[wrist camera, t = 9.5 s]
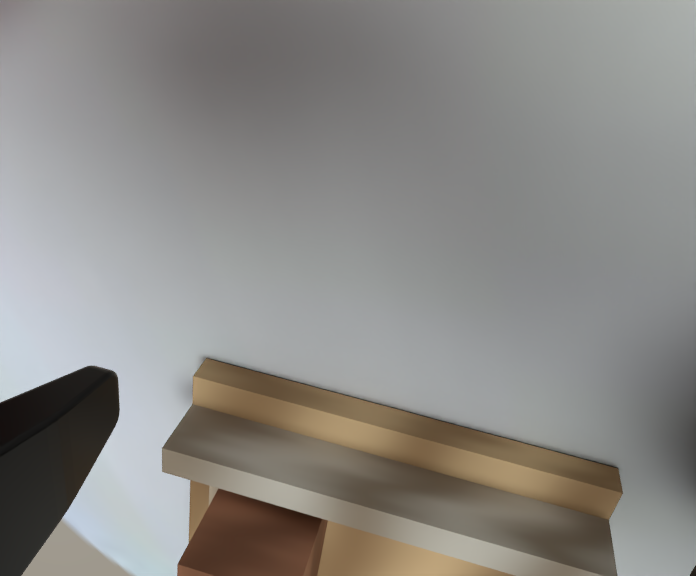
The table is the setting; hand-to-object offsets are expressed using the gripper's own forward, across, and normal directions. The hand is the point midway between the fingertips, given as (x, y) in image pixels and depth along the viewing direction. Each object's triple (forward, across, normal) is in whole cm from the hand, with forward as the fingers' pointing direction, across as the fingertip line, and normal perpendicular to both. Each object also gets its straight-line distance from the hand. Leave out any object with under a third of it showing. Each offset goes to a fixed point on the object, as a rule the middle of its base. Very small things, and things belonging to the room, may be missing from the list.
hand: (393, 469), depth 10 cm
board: (+12, 0, +16) cm, 20 cm away
